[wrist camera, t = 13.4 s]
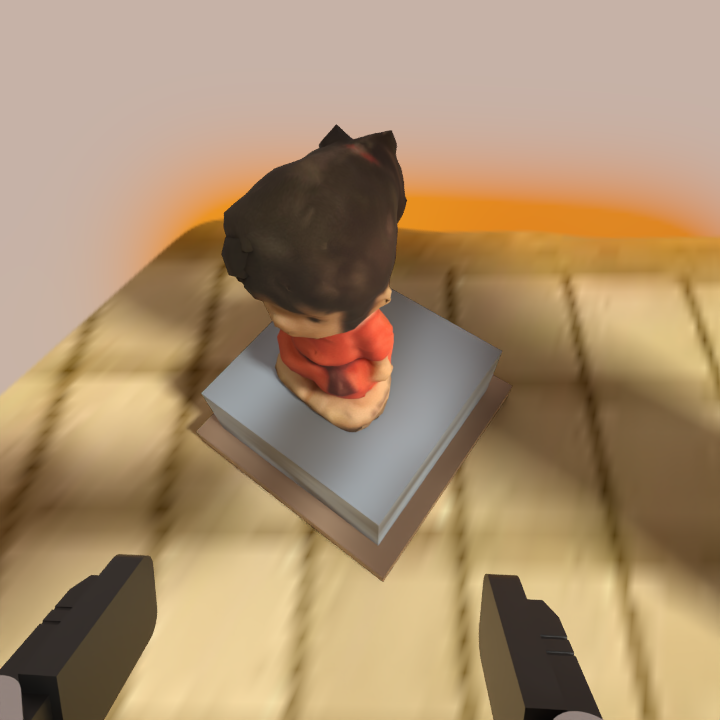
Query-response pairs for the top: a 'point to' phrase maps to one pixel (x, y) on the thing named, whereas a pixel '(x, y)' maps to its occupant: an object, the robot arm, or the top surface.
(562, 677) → the robot arm
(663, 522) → the top surface
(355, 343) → the figurine
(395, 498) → the pedestal
